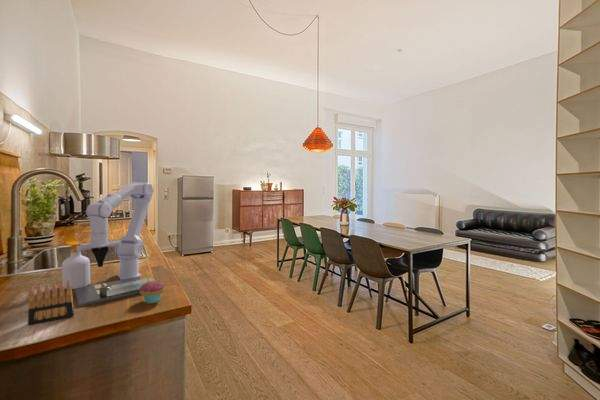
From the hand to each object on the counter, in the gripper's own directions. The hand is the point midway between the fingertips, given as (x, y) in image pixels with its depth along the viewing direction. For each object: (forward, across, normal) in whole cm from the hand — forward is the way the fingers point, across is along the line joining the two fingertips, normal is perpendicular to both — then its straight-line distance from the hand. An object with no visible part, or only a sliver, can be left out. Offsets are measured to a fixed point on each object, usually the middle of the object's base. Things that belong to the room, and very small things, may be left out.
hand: (100, 266), depth 114 cm
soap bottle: (+10, -7, +10) cm, 16 cm away
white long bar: (+8, +7, -13) cm, 16 cm away
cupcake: (+10, +13, -24) cm, 29 cm away
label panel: (+9, +3, -6) cm, 11 cm away
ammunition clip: (+10, -15, -20) cm, 27 cm away
